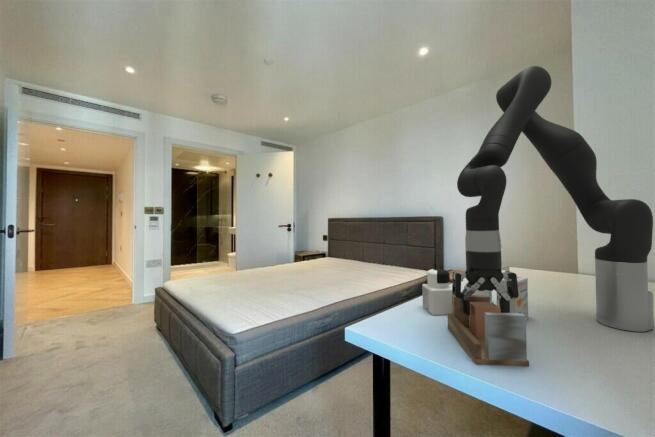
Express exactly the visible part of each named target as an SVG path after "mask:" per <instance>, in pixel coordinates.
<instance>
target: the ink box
mask: <svg viewBox="0 0 655 437" xmlns="http://www.w3.org/2000/svg"><path fill="white" fill-rule="evenodd" d="M501 271H502V273H506V272H507V271H510V264H508V265H502V268H501ZM503 271H504V272H503ZM528 283H529V282H528V277H524V276H517V284H518V294H519V297H518V298H512V299H510V312H509V313H522V314H524V315H525V316H526V319H527V318H529V299H528V298H529V296H528V294H529V293H528V292H529V291H528V288H529V287H528V286H529V284H528ZM499 284H500V285H501V286H502V287H503V288H504V289H505V291H506V292H507V282H506V280H505V279H504V277H503V279H502V281H501V282H500V283H499ZM499 298H501V297H500V296H499V294H498V293H497V292H496V305H497V306H498V307H500V301H499Z"/></svg>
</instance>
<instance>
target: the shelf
mask: <svg viewBox="0 0 655 437" xmlns="http://www.w3.org/2000/svg"><path fill="white" fill-rule="evenodd" d="M468 300H469V301H470V302H490V297H489V296H487V295H471V296H470V298H469V299H468ZM447 314H448V315H447V329H448V331H449V333H451V334H452V336H453V337H454V338H455V339H456V341H457V342H458V343H459V345H460V346H461V348H463V350H464V351H465V353H466V354H467V355H468V357H469V358H470V359H471V360H472V362H473V363H474V364H475V365H492V366H493V365H494V366H513V367H514V366H515V367H530V361H529V360H528V352H527V351H528V350H527V318H526V316H525V315H524V314H522V313H488V312H485V337H476V336H475V334H474V333H473V332H472V331H471V330H470V329H469V315H465V314H464V312H463V311H462V310H461V299H460V298H457V297H456V296H455V295H452V314H450V313H447Z"/></svg>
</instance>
